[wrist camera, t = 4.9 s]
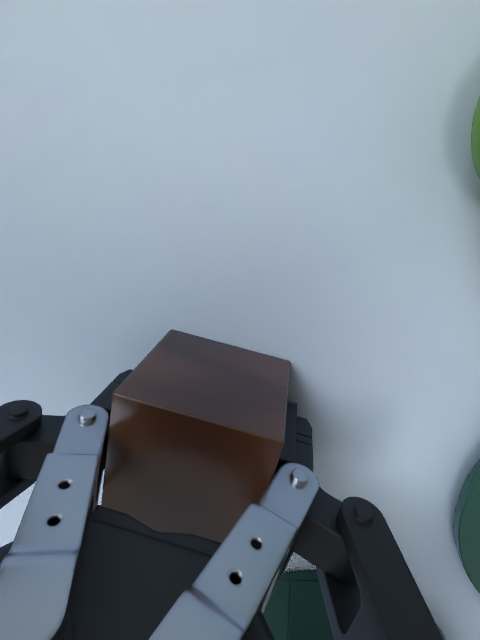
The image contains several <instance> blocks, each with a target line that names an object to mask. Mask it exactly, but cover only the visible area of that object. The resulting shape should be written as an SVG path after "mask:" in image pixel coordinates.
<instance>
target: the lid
mask: <svg viewBox="0 0 480 640" xmlns="http://www.w3.org/2000/svg"><path fill="white" fill-rule="evenodd" d="M454 534H455V543H456V547H457V550H458V554H459V557H460V559H461V562H462V564H463V567H464V569H465V571H466V573H467V575H468V577H469V579H470V581H471V582H472V584H473V585H474V586H475V588H476V589H477V591H478V592H479V593H480V459H479V461H478V462H477V464H476V465H475V466H474V468H473V469H472V471H471V472H470V474H469V475H468V477H467V479H466V481H465V483H464V485H463V488H462V490H461V492H460V495H459V498H458V502H457V505H456V509H455V518H454Z"/></svg>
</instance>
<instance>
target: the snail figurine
mask: <svg viewBox="0 0 480 640" xmlns="http://www.w3.org/2000/svg"><path fill="white" fill-rule="evenodd" d="M471 148H472V157H473V162H474V166H475V169H476V172H477V174H478V177H479V179H480V97H479V100H478V103H477V106H476V110H475V114H474V118H473V124H472V133H471Z"/></svg>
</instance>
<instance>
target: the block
mask: <svg viewBox="0 0 480 640" xmlns="http://www.w3.org/2000/svg"><path fill="white" fill-rule="evenodd" d="M289 371H290V362H289V361H287V360H283V359H279V358H276V357H272V356H268V355H264V354H261V353H257V352H253V351H250V350H246V349H242V348H238V347H235V346H231V345H227V344H224V343H220V342H216V341H212V340H209V339H205V338H201V337H198V336H194V335H190V334H186V333H183V332H179V331H175V330H170V331H169V332H168V333H167V334H166V335H165V337H164V338H163V339H162V340H161V341H160V342H159V343H158V344H157V345H156V346H155V347H154V349H153V350H152V351H151V352H150V353H149V354H148V355H147V356H146V357H145V358H144V359H143V361H142V362H141V363H140V364H139V365H138V366H137V367H136V368H135V369H134V370H133V371H132V373H131V374H130V375H129V376H128V377H127V378H126V379H125V380H124V381H123V382H122V383H121V385H120V386H119V387H118V388H117V389H116V390H115V391H114V392H113V394H112V403H111V413H110V423H109V433H108V443H107V453H106V463H105V473H104V483H103V493H102V503H101V506H103V507H107V508H110V509H113V510H116V511H119V512H123V513H126V514H129V515H130V516H132V517H133V518H135V519H137V520H138V521H140V522H141V523H143V524H145V525H146V526H148V527H149V528H151V529H153V530H154V531H157V532H169V533H187V534H194V535H197V536H200V537H204V538H207V539H210V540H213V541H217V542H220V543H222V542H223V541H224V539H225V538H226V537H227V535H228V534H229V532H230V531H231V530H232V528H233V527H234V525H235V524H236V523H237V521H238V520H239V518H240V517H241V515H242V514H243V513H244V511H245V510H246V508H247V507H248V506H249V504H250V503H251V502H252V501H253V500H255V501H258V500H259V498H260V497H261V495H262V494H263V492H264V491H265V489H266V488H267V487H268V485H269V484H270V482H271V481H272V478H273V475H274V472H275V469H276V466H277V463H278V460H279V457H280V454H281V451H282V448H283V445H284V437H285V424H286V411H287V398H288V384H289Z"/></svg>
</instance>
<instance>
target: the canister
mask: <svg viewBox="0 0 480 640" xmlns="http://www.w3.org/2000/svg"><path fill="white" fill-rule="evenodd" d="M264 617H265V619H266V621H267V624H268V626H269V628H270V630H271V632H272V634H273V637H274V639H275V640H334V637H333V634H332V630H331V626H330V622H329V618H328V614H327V610H326V606H325V602H324V598H323V594H322V590H321V587H320V583H319V579H318V575H317V571H298V572H289V573H283V575H282V577H281V579H280V581H279V583H278V585H277V587H276V590H275V592H274V594H273V596H272V598H271V601H270V603H269V605H268V608H267V610H266V612H265V615H264ZM435 624H436V623H435ZM436 626H437V625H436ZM437 628H438V630H439V632H440V634H441V636H442V638H443V640H446V639H445V637H444V635H443V633H442V631H441V630H440V628H439V627H438V626H437Z"/></svg>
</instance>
